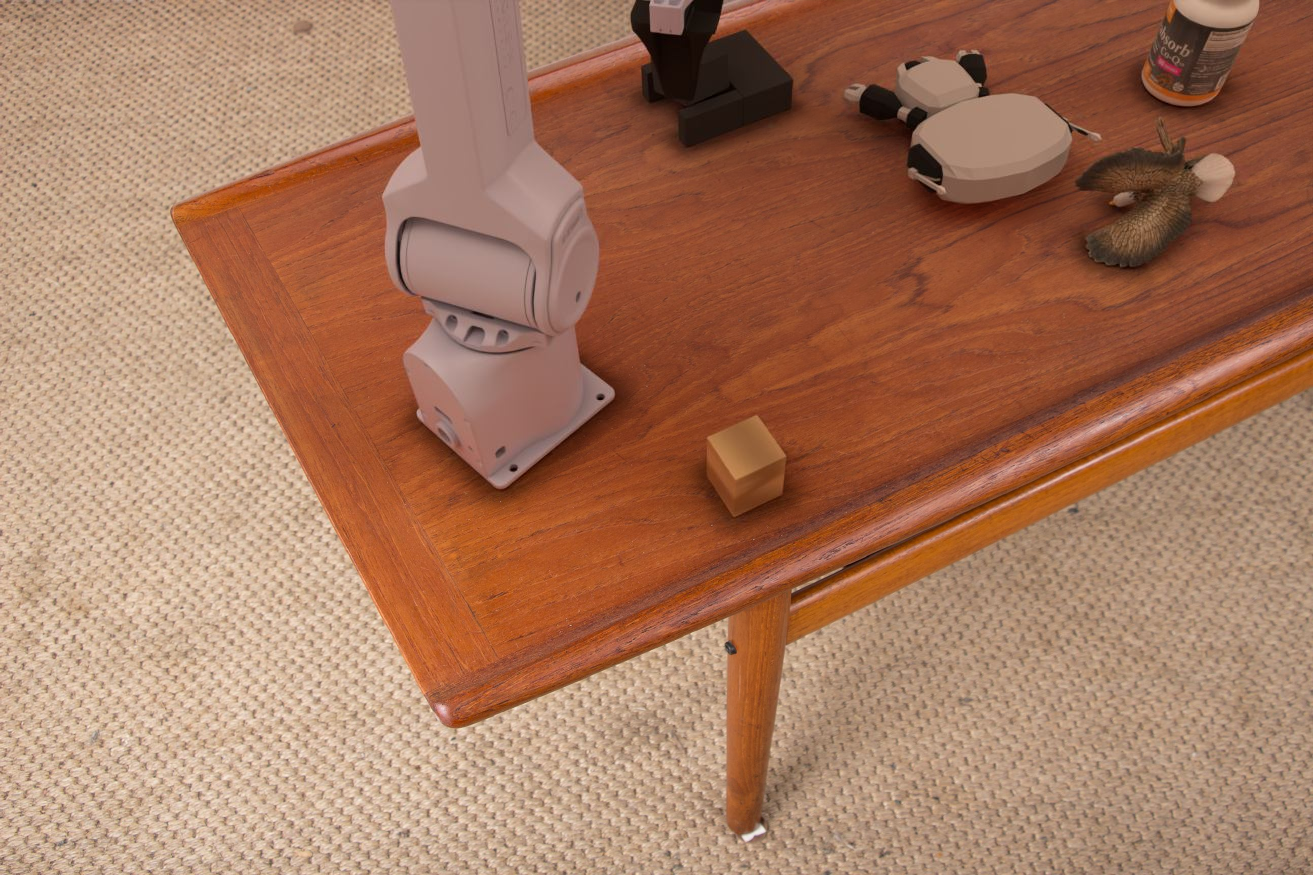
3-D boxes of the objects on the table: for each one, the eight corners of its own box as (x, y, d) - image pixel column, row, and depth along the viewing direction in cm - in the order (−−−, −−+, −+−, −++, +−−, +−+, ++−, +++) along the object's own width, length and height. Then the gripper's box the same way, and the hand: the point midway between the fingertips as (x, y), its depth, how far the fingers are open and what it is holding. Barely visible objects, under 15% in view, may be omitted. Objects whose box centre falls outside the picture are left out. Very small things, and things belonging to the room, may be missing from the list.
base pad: (685, 148, 78) (684, 119, 76) (642, 94, 82) (640, 65, 80) (791, 108, 80) (793, 79, 78) (744, 58, 84) (745, 28, 82)
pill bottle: (1124, 71, 82) (1171, -52, 73) (1191, 55, 82) (1244, -69, 74) (1166, 117, 78) (1220, -7, 70) (1235, 100, 79) (1296, -24, 71)
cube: (733, 518, 60) (735, 480, 57) (706, 476, 62) (706, 436, 59) (782, 495, 61) (787, 456, 58) (754, 454, 63) (757, 414, 60)
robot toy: (829, 124, 80) (939, 243, 72) (833, 70, 77) (949, 189, 68) (970, 78, 83) (1093, 188, 74) (980, 24, 79) (1110, 133, 70)
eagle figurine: (1110, 144, 75) (1041, 188, 71) (1202, 92, 69) (1132, 136, 64) (1165, 238, 76) (1100, 288, 71) (1261, 194, 69) (1196, 245, 65)
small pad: (687, 107, 77) (684, 72, 75) (653, 91, 79) (650, 57, 78) (730, 87, 78) (727, 53, 77) (696, 73, 81) (692, 39, 79)
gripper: (730, -55, 62) (726, 135, 73) (773, -180, 69) (763, 9, 81) (611, -67, 63) (625, 122, 74) (666, -188, 71) (671, -1, 82)
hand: (691, 62), depth 77 cm, fingers open, 7 cm apart
